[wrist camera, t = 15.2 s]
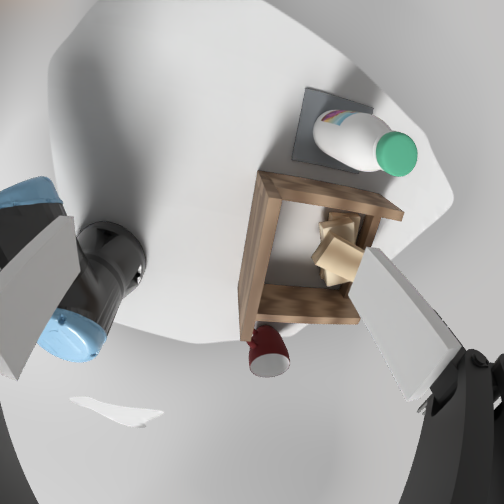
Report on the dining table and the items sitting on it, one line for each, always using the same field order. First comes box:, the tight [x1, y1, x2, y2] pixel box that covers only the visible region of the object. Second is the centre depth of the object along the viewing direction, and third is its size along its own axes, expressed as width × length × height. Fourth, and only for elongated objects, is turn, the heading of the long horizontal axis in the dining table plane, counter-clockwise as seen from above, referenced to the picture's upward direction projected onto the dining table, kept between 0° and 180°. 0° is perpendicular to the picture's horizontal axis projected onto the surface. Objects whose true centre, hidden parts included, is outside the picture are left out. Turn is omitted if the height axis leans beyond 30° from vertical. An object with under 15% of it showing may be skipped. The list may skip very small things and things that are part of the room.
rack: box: [238, 171, 404, 342], centre depth 45 cm, size 23×23×14 cm
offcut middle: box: [319, 217, 355, 287], centre depth 49 cm, size 6×12×2 cm, turn 11°
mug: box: [246, 325, 290, 377], centre depth 56 cm, size 10×8×10 cm
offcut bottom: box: [319, 212, 361, 279], centre depth 51 cm, size 6×13×2 cm, turn 178°
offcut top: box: [311, 231, 365, 282], centre depth 47 cm, size 6×11×2 cm, turn 62°
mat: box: [292, 88, 374, 174], centre depth 41 cm, size 12×12×1 cm
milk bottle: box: [313, 110, 417, 177], centre depth 32 cm, size 8×8×20 cm
